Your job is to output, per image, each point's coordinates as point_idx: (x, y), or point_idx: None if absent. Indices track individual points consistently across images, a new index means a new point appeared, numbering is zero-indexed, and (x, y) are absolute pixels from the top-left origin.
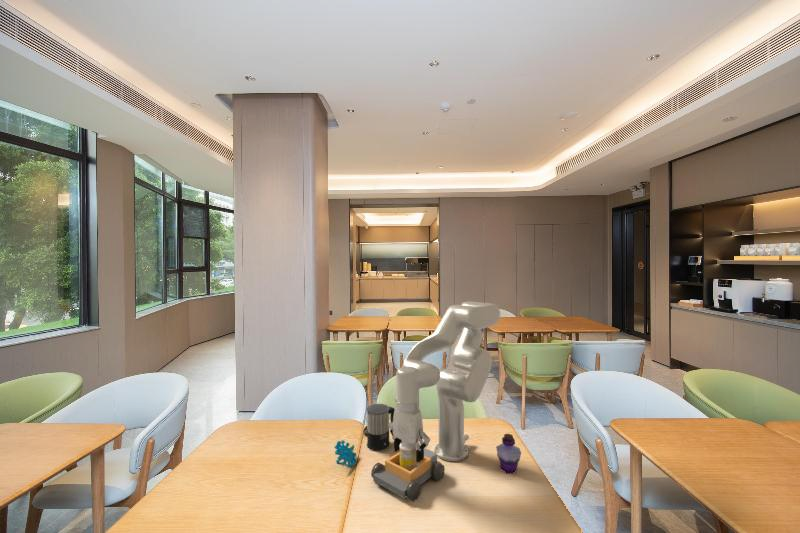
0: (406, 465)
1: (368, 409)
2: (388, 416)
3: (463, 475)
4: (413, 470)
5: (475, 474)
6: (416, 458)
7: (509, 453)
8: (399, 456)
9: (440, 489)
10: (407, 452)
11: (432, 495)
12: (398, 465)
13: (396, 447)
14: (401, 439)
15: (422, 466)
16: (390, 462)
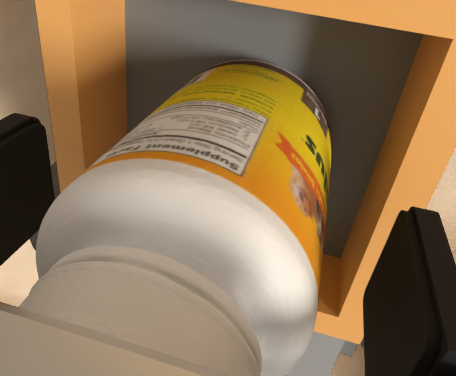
0: (195, 81)
1: None
2: None
3: (35, 255)
4: (49, 11)
5: (6, 278)
6: (3, 133)
7: None
8: (373, 213)
9: (33, 99)
10: (103, 159)
11: (24, 14)
12: (260, 3)
13: (403, 257)
14: (105, 350)
15: (62, 144)
16: (412, 8)
